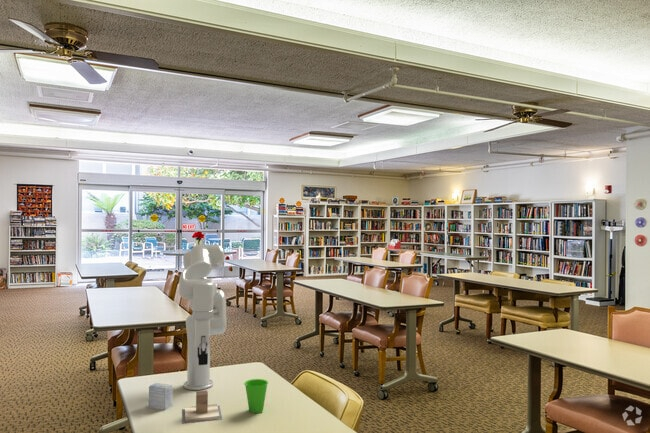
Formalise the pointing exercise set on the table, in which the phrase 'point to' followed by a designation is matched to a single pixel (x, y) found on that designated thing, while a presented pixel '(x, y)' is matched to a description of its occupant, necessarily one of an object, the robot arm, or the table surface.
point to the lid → (201, 409)
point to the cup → (256, 394)
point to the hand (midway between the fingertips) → (202, 361)
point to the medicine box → (160, 396)
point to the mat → (199, 421)
